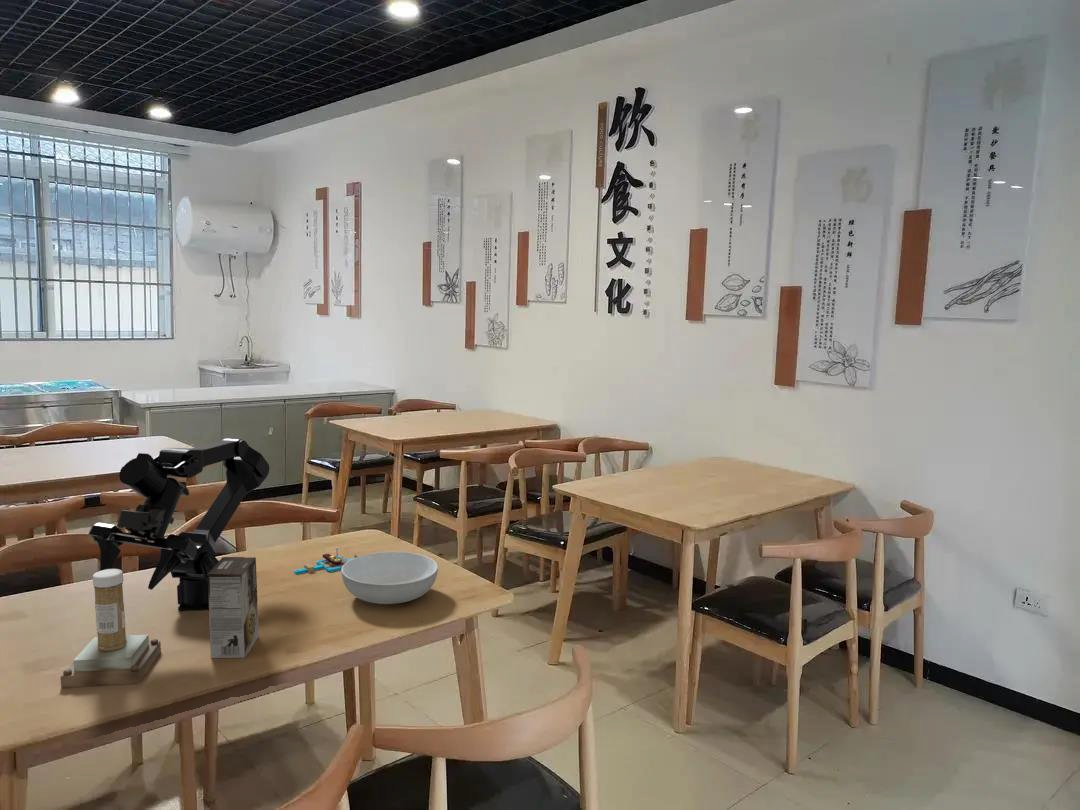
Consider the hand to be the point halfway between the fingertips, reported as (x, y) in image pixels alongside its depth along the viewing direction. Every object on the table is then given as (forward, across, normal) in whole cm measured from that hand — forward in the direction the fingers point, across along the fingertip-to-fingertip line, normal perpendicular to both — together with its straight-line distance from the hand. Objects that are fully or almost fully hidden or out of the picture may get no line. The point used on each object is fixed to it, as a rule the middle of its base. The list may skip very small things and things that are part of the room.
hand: (125, 585), depth 142 cm
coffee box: (+7, +21, +7) cm, 23 cm away
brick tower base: (+14, +4, 0) cm, 15 cm away
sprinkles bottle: (+11, +4, -2) cm, 12 cm away
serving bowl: (-12, +43, +27) cm, 53 cm away
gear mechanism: (-22, +25, +43) cm, 54 cm away
